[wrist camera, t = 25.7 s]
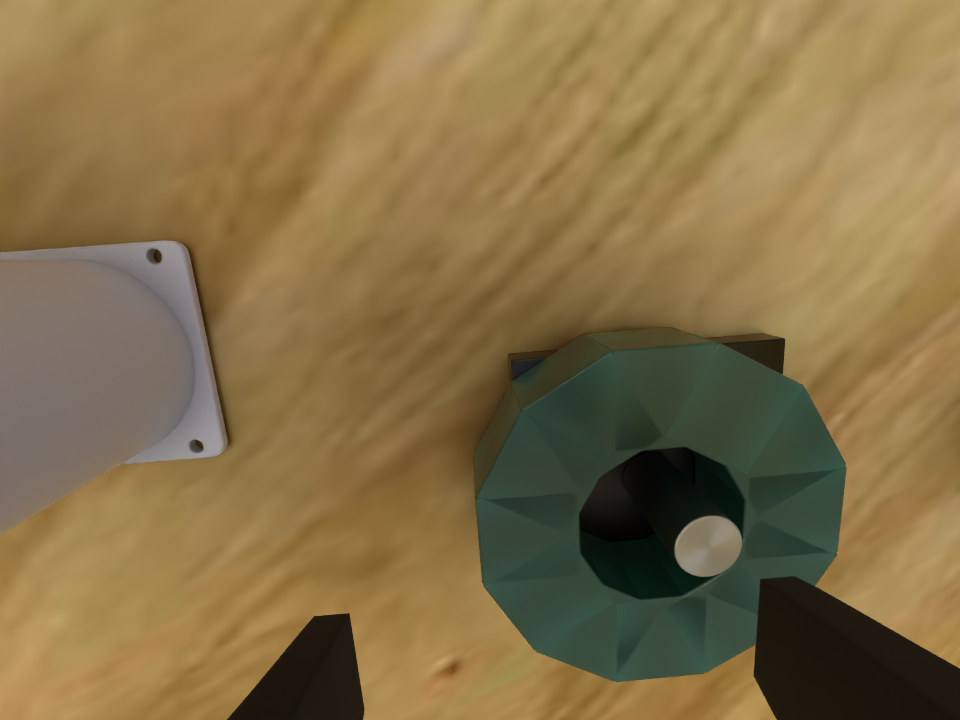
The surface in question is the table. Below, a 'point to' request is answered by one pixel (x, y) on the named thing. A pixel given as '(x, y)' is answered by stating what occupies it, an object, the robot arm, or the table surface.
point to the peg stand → (666, 486)
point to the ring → (647, 562)
